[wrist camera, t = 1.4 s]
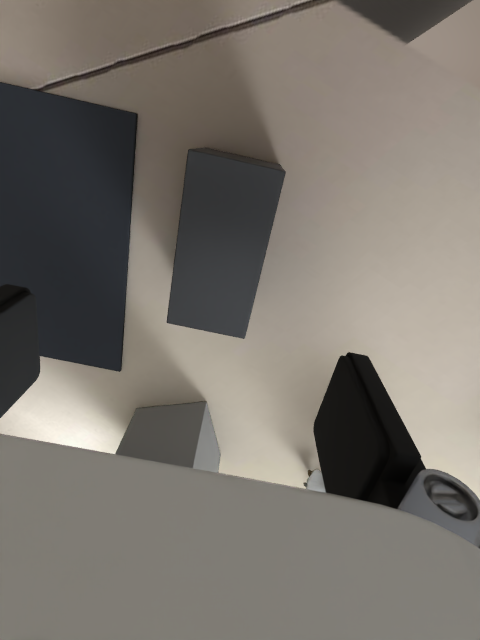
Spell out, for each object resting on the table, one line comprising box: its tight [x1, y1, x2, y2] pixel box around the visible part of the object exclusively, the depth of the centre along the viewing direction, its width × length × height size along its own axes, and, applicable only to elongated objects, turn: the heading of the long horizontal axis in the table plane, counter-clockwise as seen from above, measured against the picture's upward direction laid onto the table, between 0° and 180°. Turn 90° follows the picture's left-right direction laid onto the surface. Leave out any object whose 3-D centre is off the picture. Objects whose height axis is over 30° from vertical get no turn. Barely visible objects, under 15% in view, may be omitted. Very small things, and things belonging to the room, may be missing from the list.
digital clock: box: [167, 148, 286, 339], centre depth 23 cm, size 10×5×6 cm, turn 168°
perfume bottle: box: [116, 402, 220, 473], centre depth 26 cm, size 7×7×18 cm
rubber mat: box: [0, 82, 137, 372], centre depth 26 cm, size 20×14×1 cm
